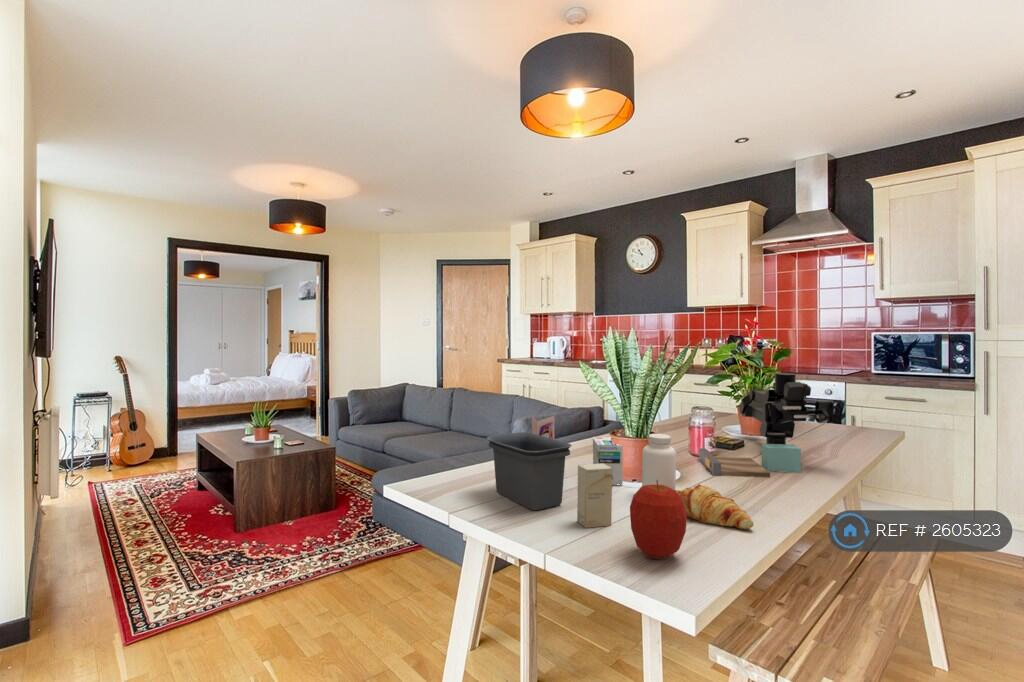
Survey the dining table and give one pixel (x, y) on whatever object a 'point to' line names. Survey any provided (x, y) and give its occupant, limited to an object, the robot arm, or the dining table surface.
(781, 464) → the teal carton
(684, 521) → the apple
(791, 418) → the robot arm
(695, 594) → the dining table surface
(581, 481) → the skincare box
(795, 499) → the dining table surface
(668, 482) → the pill bottle
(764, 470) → the shelf board
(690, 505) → the croissant
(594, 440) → the light bulb box
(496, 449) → the storage bin
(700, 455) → the price rail
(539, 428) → the pink printed box
